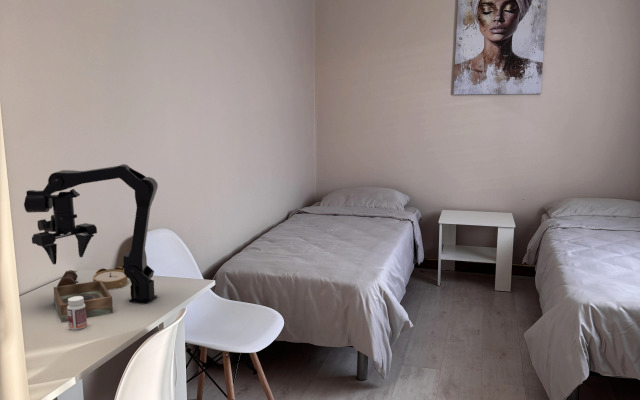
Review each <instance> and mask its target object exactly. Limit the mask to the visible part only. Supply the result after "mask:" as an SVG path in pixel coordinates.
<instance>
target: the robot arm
mask: <svg viewBox="0 0 640 400" xmlns="http://www.w3.org/2000/svg"><path fill="white" fill-rule="evenodd" d="M47 179H48V180H47V184H46V186H44V189H43V190H35V189H29V190H26V192H25V193H26V196H25V198H24V202H23V207H24V210H25V212H26V213H49V211H50V210H52V211H53V214H52V215H51V216H50V220H46V218H44V219H43V218H42V219H39V220H37V228H38V231H39V232H38V233H34V234H33V235H32V236H31V243H32V244H33V245H37V246H39V247H42V248H43V250H44V251H45V252H46V254H47V256H48V258H49V260H50V261H51V263H52V265H57V256H58V255H57V254H58V253H57V252H58V247H57V246H58V244H57V243H55V242H56V240H59V239H62V238H67V237H72V236H75V238H76V239H77V249H78V250H77V251H78V256H79V258H83V257H84V255H85V251H86V250H87V248H88V245H89V243H90V241H91V240H92V238H93V237H95V236H94V235H96V234H98V229H97V226H96V225H95V224H93V223H86V222H85V223H80V224H76V220H75V219H76V218H78V214H75V208H74V206H75V205H74V198H75V199H77V198H78V197H79V196H81V194H80V193H79V192H78V191H76V189H74V187H77V186H78V185H84V184H90V183H96V182H102V181H108V180H115V179H116V180H117V179H120V180H122V181H123V182H124V184H126V185H127V186H128V187H130V188H131V189H132V190H134V199H135V204H136V209H135V210H136V212H135V218H134V224H133V225H134V226H133V234H132V241H131V248H130V251H127V252H126V253H125V254H124V256H123V265H122V266H121V267H122V269H124V274H125V275H126V277H127V278H128V279H129V282H130V287H129V288H130V299H129V301H128V302H130V303H140V304H149V303H150V302H152V301H153V300H155V299H157V298H158V295H157V294H155V279H154V280H153V279H152V278H153V276H154V275H155V274H154V273H155V271H154V270H153V269H152V267H150V266H149V265H148V264H147V263H148V260H147V253H146V242H147V235H148V230H149V229H148V228H149V220H150V212H151V207H152V204H153V202H154V199H155V196H156V193H157V190H158V187H159V185H158V182H157V181H156V179H154V178H153V177H150V176H145V175H144V174H142V173H141V172H139V171H137V170H136V169H134V168H132V167H130V166H129V165H128V164H125V163H124V164H120V165H115V166H114V165H113V166H108V167H100V168H95V169H89V170H71V169H70V170H69V169H68V170H67V169H65V170H64V169H63V170H59V171H55V172H53V173H51V174H50V175H49V177H48V178H47ZM71 188H72V189H71ZM68 189H69V191H65V190H68ZM57 192H58V194H54V193H57ZM42 231H43V232H42Z"/></svg>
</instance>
